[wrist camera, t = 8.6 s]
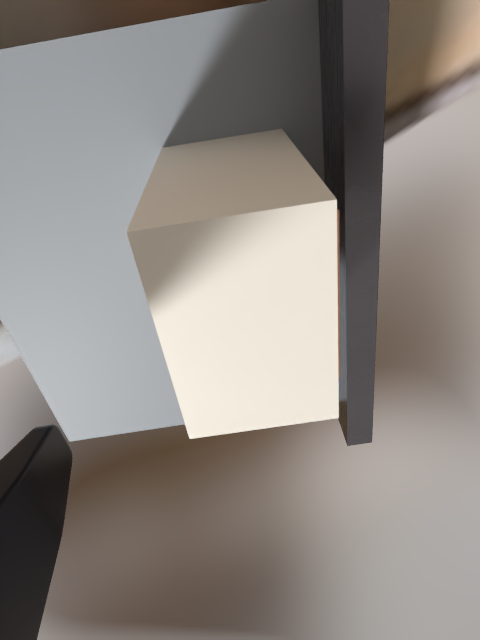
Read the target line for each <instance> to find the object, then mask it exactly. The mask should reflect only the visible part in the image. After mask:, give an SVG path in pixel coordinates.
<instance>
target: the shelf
mask: <svg viewBox="0 0 480 640" xmlns="http://www.w3.org/2000/svg"><path fill="white" fill-rule="evenodd" d="M388 17H389V0H268V1H262V2H257V3H251V4H246V5H240V6H235V7H229V8H224V9H218V10H213V11H207V12H202V13H196V14H191V15H186V16H180V17H175V18H169V19H164V20H158V21H153V22H147V23H142V24H136V25H131V26H125V27H120V28H115V29H109V30H104V31H98V32H93V33H87V34H82V35H76V36H71V37H65V38H60V39H54V40H49V41H43V42H38V43H33V44H27V45H22V46H16V47H11V48H5V49H0V320H1V321H2V323H3V325H4V327H5V329H6V330H7V332H8V334H9V336H10V337H11V339H12V341H13V343H14V344H15V346H16V348H17V350H18V352H19V353H20V355H21V357H22V359H23V360H24V362H25V364H26V366H27V367H28V369H29V371H30V373H31V374H32V376H33V378H34V380H35V382H36V383H37V385H38V387H39V388H40V390H41V392H42V394H43V396H44V397H45V399H46V401H47V403H48V404H49V406H50V408H51V410H52V412H53V413H54V415H55V417H56V418H57V420H58V422H59V424H60V425H61V427H62V429H63V431H64V433H65V434H66V436H67V438H68V440H69V441H76V440H83V439H89V438H96V437H102V436H109V435H116V434H122V433H129V432H135V431H142V430H149V429H156V428H162V427H168V426H176V425H182V424H185V422H184V419H183V416H182V412H181V409H180V406H179V403H178V399H177V396H176V393H175V390H174V386H173V383H172V380H171V376H170V373H169V370H168V367H167V363H166V360H165V357H164V354H163V350H162V347H161V344H160V340H159V337H158V334H157V331H156V327H155V324H154V321H153V318H152V314H151V311H150V308H149V304H148V301H147V298H146V295H145V291H144V288H143V285H142V282H141V278H140V275H139V272H138V268H137V265H136V262H135V259H134V255H133V252H132V249H131V246H130V242H129V239H128V236H127V229H128V227H129V224H130V222H131V220H132V217H133V215H134V213H135V210H136V208H137V206H138V203H139V201H140V198H141V196H142V194H143V191H144V189H145V187H146V184H147V182H148V180H149V177H150V175H151V173H152V170H153V168H154V165H155V163H156V161H157V158H158V156H159V154H160V151H161V149H162V148H163V147H170V146H176V145H182V144H188V143H195V142H201V141H207V140H213V139H220V138H226V137H232V136H238V135H245V134H251V133H257V132H264V131H270V130H276V129H283V131H284V132H285V133H286V135H287V136H288V137H289V138H290V140H291V141H292V142H293V144H294V145H295V146H296V147H297V149H298V150H299V151H300V153H301V154H302V155H303V156H304V158H305V159H306V160H307V162H308V163H309V164H310V165H311V167H312V168H313V169H314V171H315V172H316V173H317V174H318V176H319V177H320V178H321V180H322V181H323V182H324V183H325V185H326V186H327V187H328V189H329V190H330V191H331V192H332V194H333V195H334V196H335V198H336V199H337V209H338V210H339V253H340V377H338V381H339V418H338V419H339V422H340V425H341V428H342V431H343V434H344V437H345V440H346V443H347V445H348V446H350V445H356V444H363V443H370V442H372V428H373V403H374V377H375V351H376V325H377V300H378V275H379V274H378V273H379V248H380V223H381V196H382V172H383V146H384V120H385V94H386V69H387V43H388Z"/></svg>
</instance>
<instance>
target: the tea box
mask: <svg viewBox="0 0 480 640" xmlns="http://www.w3.org/2000/svg"><path fill="white" fill-rule="evenodd" d="M127 236H128V239H129V242H130V246H131V249H132V252H133V255H134V259H135V262H136V265H137V268H138V272H139V275H140V278H141V282H142V285H143V288H144V291H145V295H146V298H147V301H148V304H149V308H150V311H151V314H152V318H153V321H154V324H155V327H156V331H157V334H158V337H159V340H160V344H161V347H162V350H163V354H164V357H165V360H166V363H167V367H168V370H169V373H170V376H171V380H172V383H173V386H174V390H175V393H176V396H177V399H178V403H179V406H180V409H181V412H182V416H183V419H184V422H185V426H186V429H187V432H188V435H189V438H190V439H193V438H199V437H207V436H213V435H221V434H228V433H235V432H242V431H250V430H257V429H264V428H271V427H278V426H285V425H292V424H298V423H306V422H314V421H320V420H328V419H335V418H339V381H338V377H340V253H339V210H338V209H337V199H336V198H335V196H334V195H333V194H332V192H331V191H330V190H329V189H328V187H327V186H326V185H325V183H324V182H323V181H322V180H321V178H320V177H319V176H318V174H317V173H316V172H315V171H314V169H313V168H312V167H311V165H310V164H309V163H308V162H307V160H306V159H305V158H304V156H303V155H302V154H301V153H300V151H299V150H298V149H297V147H296V146H295V145H294V144H293V142H292V141H291V140H290V138H289V137H288V136H287V135H286V133H285V132H284V131H283V129H276V130H270V131H264V132H257V133H251V134H245V135H238V136H232V137H226V138H220V139H213V140H207V141H201V142H195V143H188V144H182V145H176V146H170V147H163V148H162V149H161V151H160V154H159V156H158V158H157V161H156V163H155V165H154V168H153V170H152V173H151V175H150V177H149V180H148V182H147V184H146V187H145V189H144V191H143V194H142V196H141V198H140V201H139V203H138V206H137V208H136V210H135V213H134V215H133V217H132V220H131V222H130V224H129V227H128V229H127Z"/></svg>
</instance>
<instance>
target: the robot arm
mask: <svg viewBox="0 0 480 640" xmlns="http://www.w3.org/2000/svg"><path fill="white" fill-rule="evenodd" d="M71 467H72V452H71V450H70V447H69V446H68V444H67V442H66V440H65V438H64V437H63V435H62V433H61V431H60V430H59V428H58V427H57V426H55V425H47V426H40V427H36V428H34V429H33V430H31V431H30V432H29V433H28V434H27V435H26V436H25V437H24V438H23V439H22V440H21V441H20V442H19V443H18V444H17V445H16V446H15V447H14V448H13V449H12V450H10V451H9V452H8V453H7V454H6V455H5V456H4V458H2V459H1V460H0V640H37V636H38V632H39V628H40V624H41V620H42V616H43V612H44V607H45V604H46V599H47V595H48V591H49V586H50V583H51V579H52V575H53V571H54V566H55V562H56V558H57V554H58V550H59V546H60V541H61V537H62V532H63V526H64V519H65V512H66V505H67V497H68V489H69V481H70V474H71Z"/></svg>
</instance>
